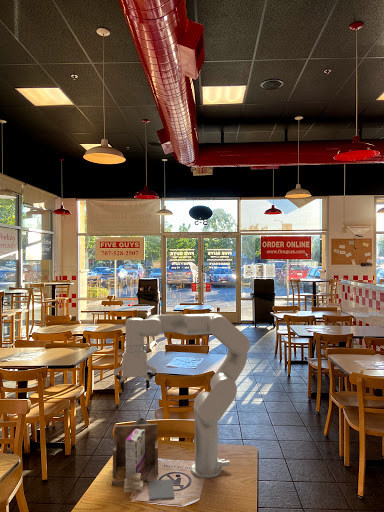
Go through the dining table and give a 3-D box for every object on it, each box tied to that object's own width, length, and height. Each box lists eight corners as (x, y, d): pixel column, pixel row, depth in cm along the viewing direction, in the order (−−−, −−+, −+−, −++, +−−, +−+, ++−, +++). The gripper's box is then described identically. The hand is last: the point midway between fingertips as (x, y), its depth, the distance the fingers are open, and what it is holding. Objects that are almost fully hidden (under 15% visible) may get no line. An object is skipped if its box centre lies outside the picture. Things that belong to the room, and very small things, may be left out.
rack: (157, 463, 168) (157, 423, 168) (158, 482, 153) (158, 438, 153) (114, 466, 166) (114, 425, 166) (111, 486, 151) (111, 441, 151)
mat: (172, 480, 154) (172, 479, 154) (174, 498, 142) (174, 496, 142) (149, 482, 153) (149, 480, 153) (149, 500, 141) (149, 498, 141)
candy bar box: (134, 467, 165) (134, 428, 165) (146, 468, 164) (145, 429, 164) (124, 482, 154) (124, 439, 154) (136, 483, 153) (136, 440, 153)
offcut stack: (142, 484, 152) (142, 472, 152) (142, 490, 147) (142, 478, 147) (124, 485, 151) (124, 473, 151) (124, 492, 147) (123, 479, 147)
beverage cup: (148, 457, 173) (148, 412, 174) (132, 457, 173) (131, 412, 174) (150, 450, 180) (150, 406, 181) (134, 450, 180) (134, 406, 181)
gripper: (155, 345, 165) (156, 386, 164) (114, 347, 163) (114, 388, 162) (156, 349, 157) (156, 392, 157) (112, 350, 155) (112, 394, 155)
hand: (135, 390), depth 160 cm, fingers open, 9 cm apart
